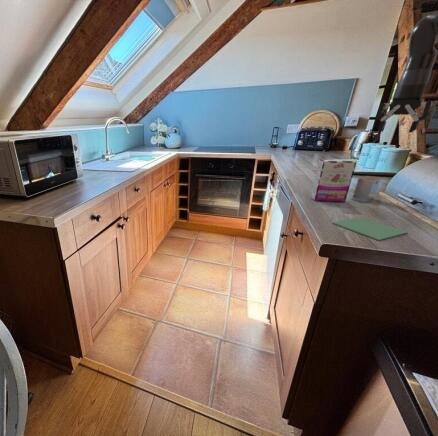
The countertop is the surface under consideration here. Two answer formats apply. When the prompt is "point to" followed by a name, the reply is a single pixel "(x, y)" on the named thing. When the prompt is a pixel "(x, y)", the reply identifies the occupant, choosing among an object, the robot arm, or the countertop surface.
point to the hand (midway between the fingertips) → (395, 131)
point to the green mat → (370, 228)
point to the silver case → (366, 188)
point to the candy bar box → (333, 180)
